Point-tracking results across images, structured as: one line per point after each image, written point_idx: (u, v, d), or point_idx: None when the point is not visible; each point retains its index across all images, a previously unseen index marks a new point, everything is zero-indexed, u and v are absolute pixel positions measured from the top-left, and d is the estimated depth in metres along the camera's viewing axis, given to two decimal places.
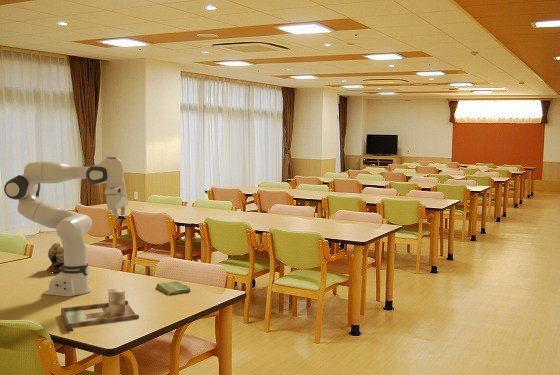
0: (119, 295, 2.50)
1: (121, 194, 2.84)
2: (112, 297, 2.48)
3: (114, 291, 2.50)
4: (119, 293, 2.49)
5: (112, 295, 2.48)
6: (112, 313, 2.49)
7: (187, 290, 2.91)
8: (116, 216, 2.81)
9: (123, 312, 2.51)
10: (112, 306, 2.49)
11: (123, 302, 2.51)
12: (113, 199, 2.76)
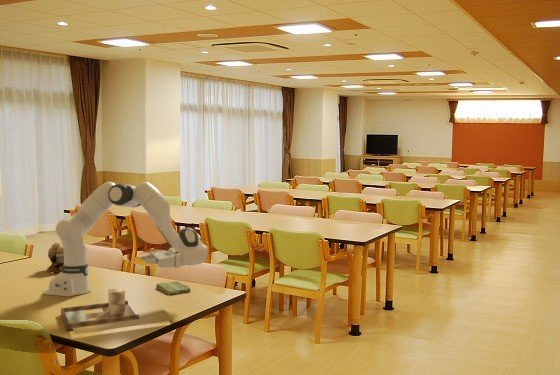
0: (119, 295, 2.50)
1: None
2: (112, 297, 2.48)
3: (114, 291, 2.50)
4: (119, 293, 2.49)
5: (112, 295, 2.48)
6: (112, 313, 2.49)
7: (187, 290, 2.91)
8: (147, 262, 2.53)
9: (123, 312, 2.51)
10: (112, 306, 2.49)
11: (123, 302, 2.51)
12: (170, 265, 2.52)
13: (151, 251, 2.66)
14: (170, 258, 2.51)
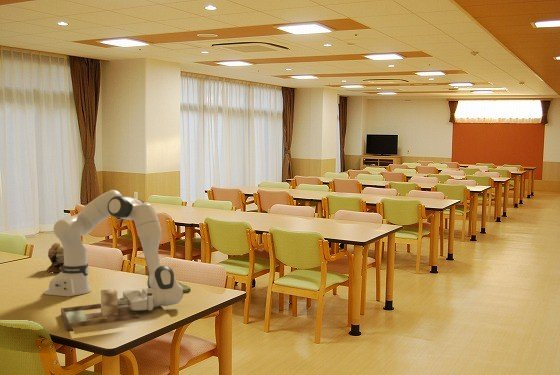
0: (112, 295, 2.48)
1: None
2: (104, 298, 2.47)
3: (106, 292, 2.49)
4: (111, 294, 2.48)
5: (104, 296, 2.47)
6: (104, 314, 2.47)
7: (187, 290, 2.92)
8: (118, 303, 2.51)
9: (115, 313, 2.49)
10: (104, 307, 2.47)
11: (115, 303, 2.49)
12: (143, 308, 2.48)
13: (125, 291, 2.62)
14: (142, 301, 2.48)
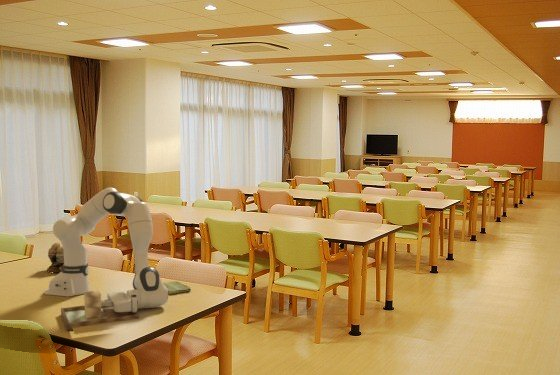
0: (95, 297, 2.45)
1: None
2: (88, 300, 2.44)
3: (90, 294, 2.45)
4: (95, 296, 2.45)
5: (88, 298, 2.44)
6: (88, 316, 2.44)
7: (187, 290, 2.92)
8: (102, 305, 2.48)
9: (99, 315, 2.46)
10: (88, 309, 2.44)
11: (99, 305, 2.46)
12: (127, 310, 2.45)
13: (109, 293, 2.59)
14: (126, 303, 2.45)
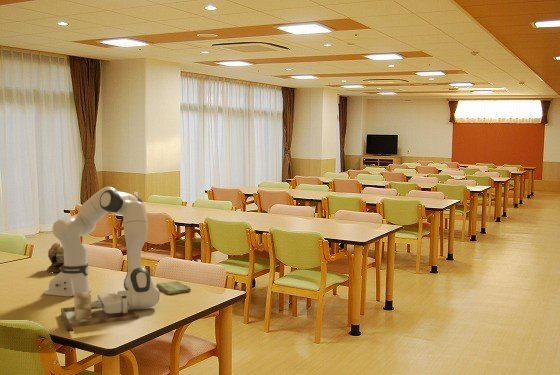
0: (85, 299, 2.43)
1: None
2: (77, 301, 2.42)
3: (80, 295, 2.44)
4: (85, 297, 2.43)
5: (77, 299, 2.42)
6: (77, 317, 2.42)
7: (187, 290, 2.92)
8: (92, 306, 2.46)
9: (89, 316, 2.44)
10: (77, 310, 2.42)
11: (89, 306, 2.44)
12: (117, 311, 2.43)
13: (100, 294, 2.57)
14: (116, 304, 2.43)
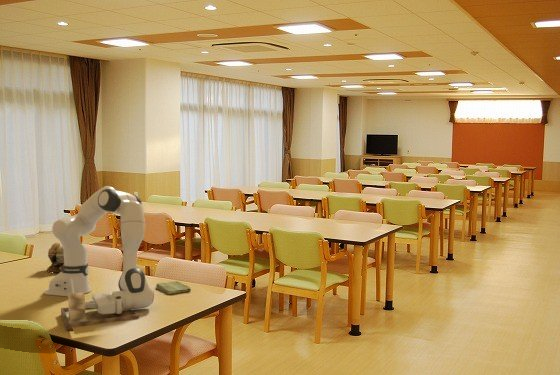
0: (79, 299, 2.42)
1: None
2: (71, 302, 2.41)
3: (74, 296, 2.42)
4: (79, 298, 2.42)
5: (71, 300, 2.41)
6: (71, 318, 2.41)
7: (187, 290, 2.92)
8: (86, 306, 2.45)
9: (83, 317, 2.43)
10: (71, 311, 2.41)
11: (83, 307, 2.43)
12: (111, 311, 2.42)
13: (94, 294, 2.56)
14: (110, 304, 2.42)
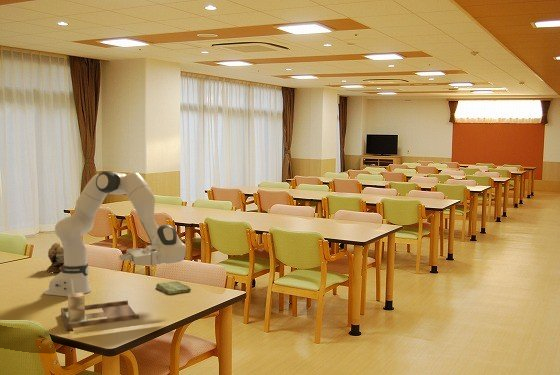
0: (79, 299, 2.42)
1: None
2: (71, 302, 2.41)
3: (73, 296, 2.42)
4: (78, 298, 2.42)
5: (71, 300, 2.41)
6: (71, 318, 2.41)
7: (187, 290, 2.92)
8: (122, 258, 2.51)
9: (83, 317, 2.43)
10: (71, 311, 2.41)
11: (83, 307, 2.43)
12: (146, 263, 2.48)
13: (128, 249, 2.62)
14: (146, 256, 2.48)
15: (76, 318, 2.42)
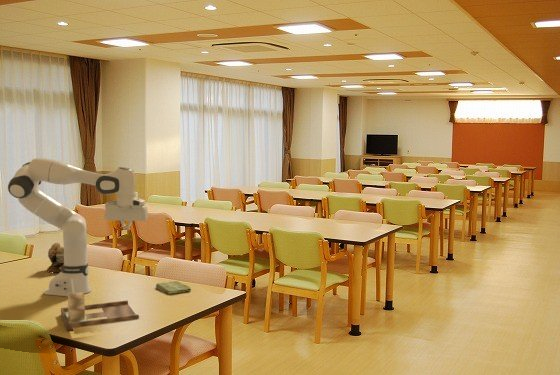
0: (79, 299, 2.42)
1: None
2: (71, 302, 2.41)
3: (73, 296, 2.42)
4: (78, 298, 2.42)
5: (71, 300, 2.41)
6: (71, 318, 2.41)
7: (188, 290, 2.92)
8: (129, 227, 2.76)
9: (83, 317, 2.43)
10: (71, 311, 2.41)
11: (83, 307, 2.43)
12: (146, 209, 2.76)
13: (108, 218, 2.75)
14: (144, 210, 2.73)
15: (76, 318, 2.42)
